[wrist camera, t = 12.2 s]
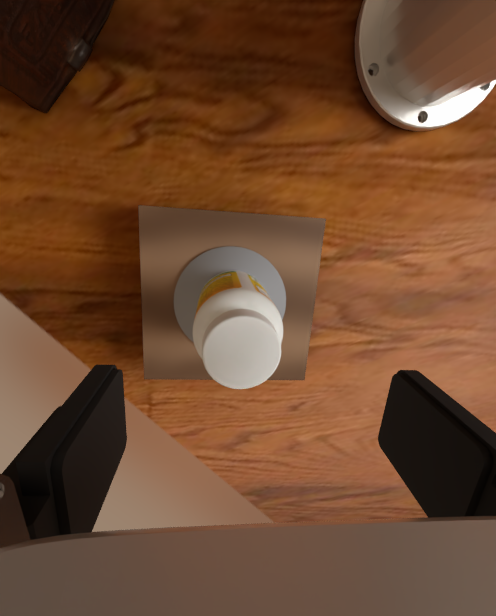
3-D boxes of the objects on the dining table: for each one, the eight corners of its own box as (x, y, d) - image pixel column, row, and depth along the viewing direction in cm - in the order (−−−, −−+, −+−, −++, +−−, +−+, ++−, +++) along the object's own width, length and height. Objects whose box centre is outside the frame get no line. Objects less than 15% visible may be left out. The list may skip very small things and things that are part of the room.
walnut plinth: (149, 207, 25) (137, 205, 21) (310, 218, 27) (327, 218, 23) (153, 358, 29) (143, 380, 25) (293, 360, 31) (305, 381, 27)
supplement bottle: (273, 278, 24) (310, 316, 15) (255, 339, 25) (279, 409, 16) (206, 261, 23) (202, 290, 14) (191, 326, 24) (177, 391, 15)
